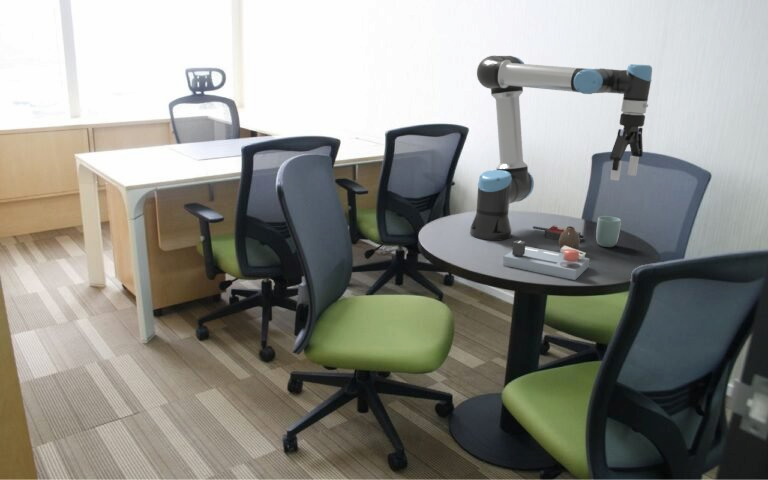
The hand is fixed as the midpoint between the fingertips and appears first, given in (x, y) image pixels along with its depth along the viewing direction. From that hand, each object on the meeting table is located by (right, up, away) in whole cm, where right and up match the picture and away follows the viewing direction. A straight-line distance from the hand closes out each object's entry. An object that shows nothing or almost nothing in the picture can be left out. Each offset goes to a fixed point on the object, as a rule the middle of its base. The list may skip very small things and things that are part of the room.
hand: (623, 177), depth 214 cm
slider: (-37, -25, -11) cm, 47 cm away
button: (-23, -27, -19) cm, 40 cm away
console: (-29, -29, -10) cm, 42 cm away
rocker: (-20, -25, -12) cm, 34 cm away
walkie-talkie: (-16, -20, +25) cm, 36 cm away
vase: (-17, -25, +6) cm, 31 cm away
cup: (-1, -23, +14) cm, 27 cm away
